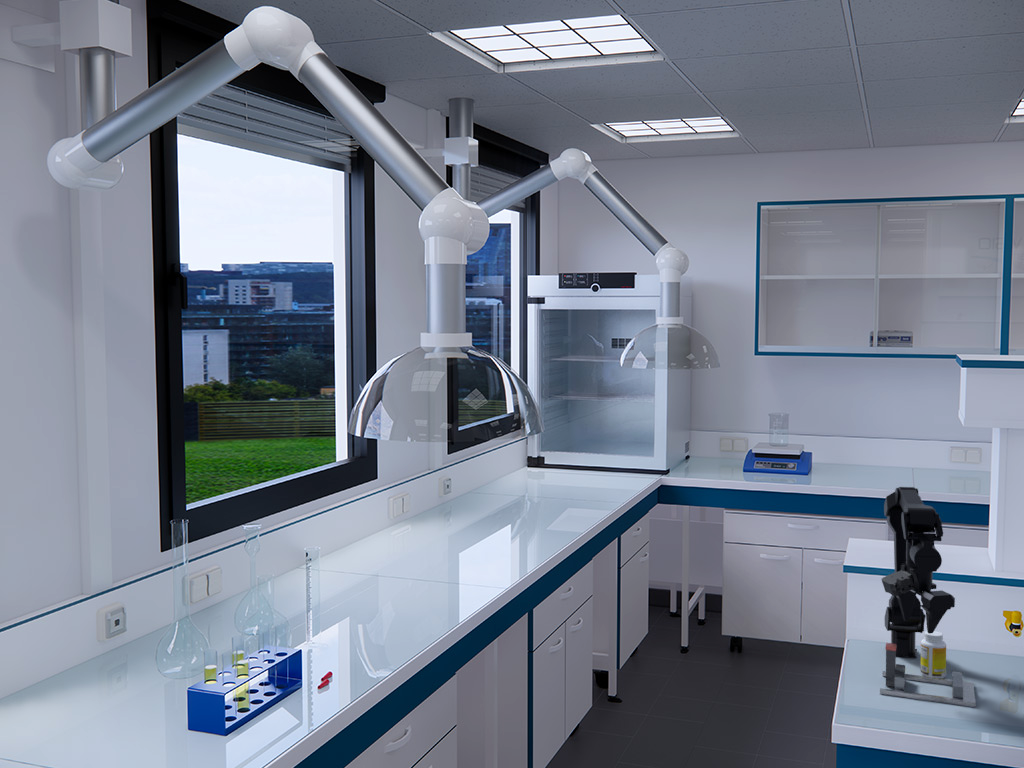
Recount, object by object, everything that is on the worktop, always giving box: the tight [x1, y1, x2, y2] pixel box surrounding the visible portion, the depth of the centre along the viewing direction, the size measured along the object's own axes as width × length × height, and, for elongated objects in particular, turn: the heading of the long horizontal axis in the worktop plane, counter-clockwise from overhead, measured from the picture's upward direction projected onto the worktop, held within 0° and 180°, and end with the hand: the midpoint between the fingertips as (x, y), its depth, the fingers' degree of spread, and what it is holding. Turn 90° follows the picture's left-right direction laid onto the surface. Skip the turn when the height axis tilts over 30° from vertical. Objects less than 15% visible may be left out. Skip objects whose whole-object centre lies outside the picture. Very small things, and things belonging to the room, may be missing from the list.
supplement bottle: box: [920, 630, 947, 679], centre depth 221 cm, size 6×6×10 cm
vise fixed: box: [879, 670, 976, 708], centre depth 212 cm, size 13×19×4 cm
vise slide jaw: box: [885, 642, 906, 691], centre depth 215 cm, size 9×4×9 cm, turn 156°
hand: (918, 626), depth 217 cm, fingers open, 9 cm apart
